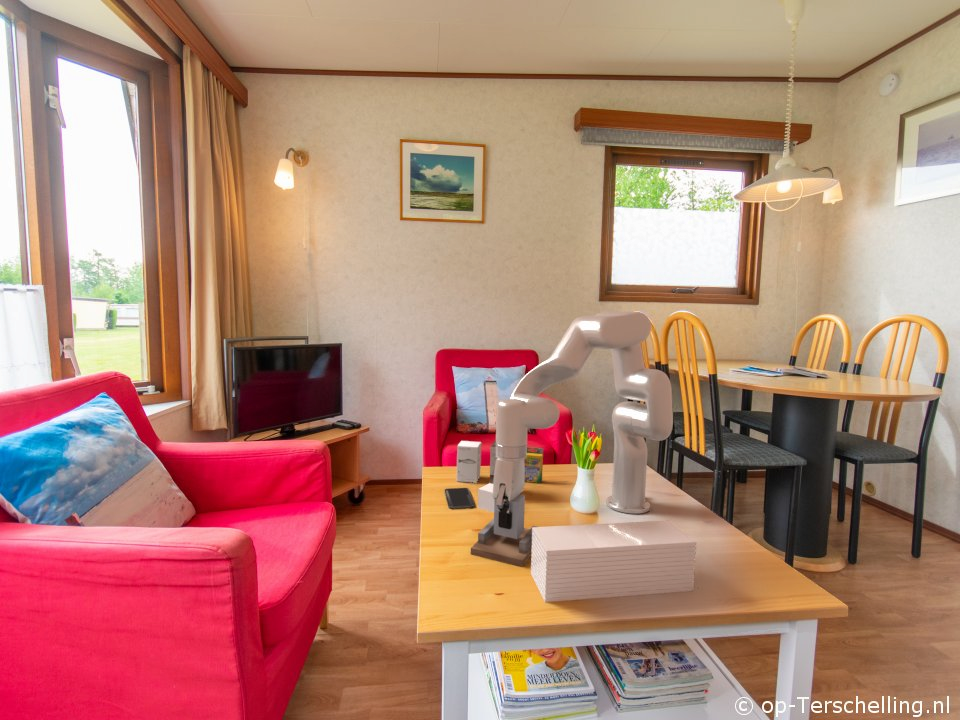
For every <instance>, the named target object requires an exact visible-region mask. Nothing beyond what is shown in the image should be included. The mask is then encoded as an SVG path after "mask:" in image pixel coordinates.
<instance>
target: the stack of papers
mask: <svg viewBox="0 0 960 720" xmlns="http://www.w3.org/2000/svg"><path fill="white" fill-rule="evenodd" d="M532 536H533V537H532V550H531V553H532V554H531V556H530V559H531V560H530V574H531V577H532V578H533V580H534V583H535V585H536V588H537V589H538V592H539V593H540V595H541V597H542V598H543V601H544V603H549V602H562V601H576V600H588V599H601V598H602V599H603V598H612V597H613V598H615V597H617V598H618V597H627V596H630V597H631V596H640V595H653V594H654V595H655V594H665V593H680V592H690V591H691V590H693V591H694V584H695V583H694V582H695V571H696V570H695V568H696V553H697V552H696V550H697V547H696V546H697V542H696V540H694V539H693V538H692V537H691V536H689V535H688V534H687V533H685V532H684V531H683V530H681V529H680V528H678V526H676V524H673V522H671V521H670V520H668V519H665V520H651V521H650V520H649V521H632V522H631V521H630V522H612V523H611V522H610V523H609V522H607V523H591V524H575V525H574V524H573V525H554V526H553V525H551V526H537V527H532ZM691 592H692V591H691Z"/></svg>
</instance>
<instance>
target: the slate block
mask: <svg viewBox="0 0 960 720" xmlns="http://www.w3.org/2000/svg"><path fill="white" fill-rule="evenodd" d="M504 499H508V497H505V498H504ZM525 500H526V495H525V494H521V495H520V494H519V495H518V496H517V497H516V498H515V499H514V500H512V502H511V511H510V512H511V513H512V528H511V529H505V528H501V527H499V526H498V519H499V512H498V506H497V505H496V502H497V499H494V513H493V519H494V534H497V535H501V536H506V537H510V538H515V539H517V538H518V537H519V536H520V535H521V534H522V532H523V531H524V528H525V506H526V504H525V502H526V501H525ZM504 504H506V506H508V502H504Z"/></svg>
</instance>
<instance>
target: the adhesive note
mask: <svg viewBox="0 0 960 720" xmlns="http://www.w3.org/2000/svg"><path fill="white" fill-rule="evenodd" d="M477 491H478V492H477V493H478V494H477V508H478V509H479V508H480V509H479V510H482V509H484V510H483V511H485V510H487V511H486V512H489V511H490V512H489V513H492V512H494V498H493V484H491V483H490V482H489V483H488V484H485V485H482V486H481V487H479V488H478V489H477Z"/></svg>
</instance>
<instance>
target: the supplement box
mask: <svg viewBox="0 0 960 720" xmlns="http://www.w3.org/2000/svg"><path fill="white" fill-rule="evenodd" d="M456 451H457V454H456V482H461V483H462V482H463V483H465V482H466V483H472V482H473V483H474V484H477V483H478V482H477V481H479V480H480V477H481V467H482V466H481V464H482V442H481V441H472V440H471V441H469V440H461V441H460V442H459V443H458V444H457V450H456ZM478 479H479V480H478Z"/></svg>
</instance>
